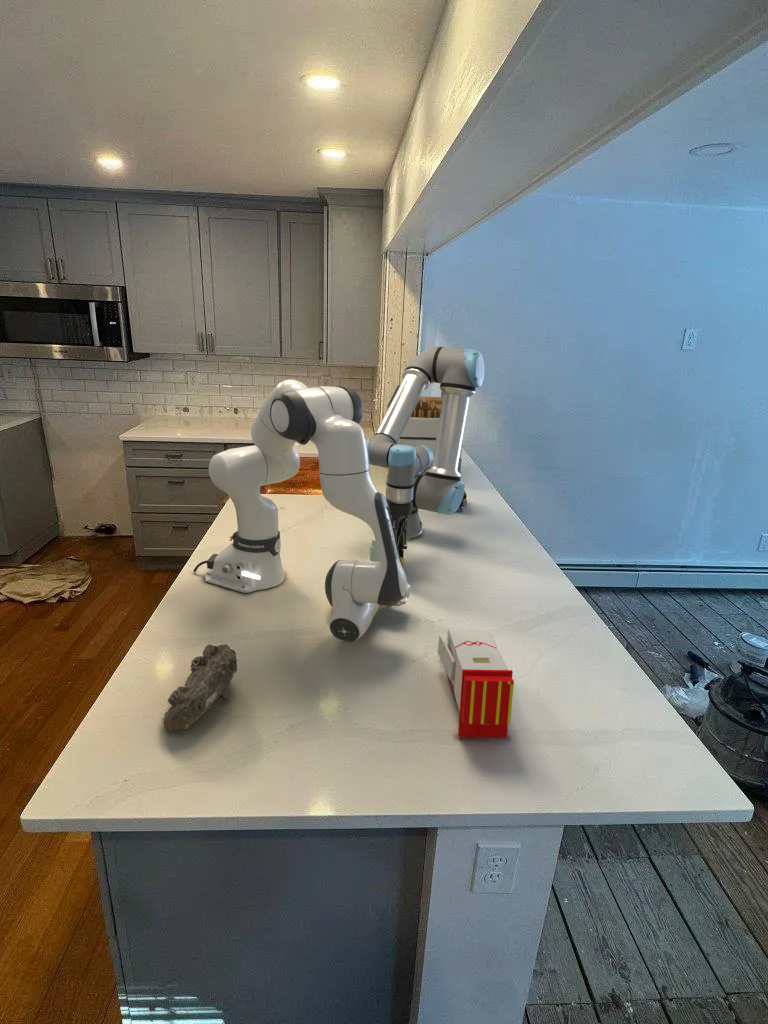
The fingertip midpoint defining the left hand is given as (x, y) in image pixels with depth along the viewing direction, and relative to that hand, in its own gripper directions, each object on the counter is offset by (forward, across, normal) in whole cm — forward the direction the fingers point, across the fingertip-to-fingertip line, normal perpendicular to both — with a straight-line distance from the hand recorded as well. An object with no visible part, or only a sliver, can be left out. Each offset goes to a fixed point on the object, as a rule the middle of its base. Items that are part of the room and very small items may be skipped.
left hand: (378, 575), depth 154 cm
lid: (+15, -1, +2) cm, 16 cm away
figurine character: (+83, -11, +6) cm, 84 cm away
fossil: (-52, +21, +6) cm, 57 cm away
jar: (-1, 0, +6) cm, 6 cm away
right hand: (+15, -1, +6) cm, 17 cm away
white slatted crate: (+127, +13, +6) cm, 128 cm away
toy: (-34, -29, +6) cm, 45 cm away
